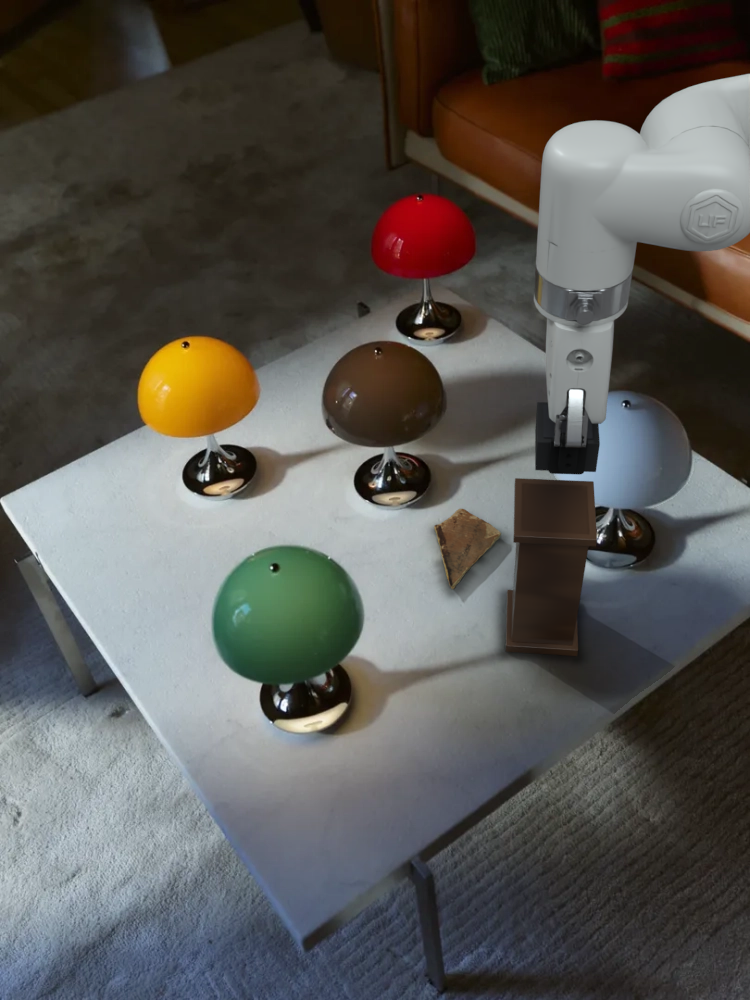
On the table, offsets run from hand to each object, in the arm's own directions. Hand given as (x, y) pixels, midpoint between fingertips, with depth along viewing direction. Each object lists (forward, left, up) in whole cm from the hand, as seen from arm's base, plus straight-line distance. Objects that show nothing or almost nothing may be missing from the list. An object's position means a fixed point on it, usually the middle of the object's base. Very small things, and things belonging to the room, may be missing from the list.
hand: (565, 446), depth 89 cm
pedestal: (0, 0, -28) cm, 28 cm away
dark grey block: (0, 0, 0) cm, 0 cm away
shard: (+9, -10, -29) cm, 32 cm away
